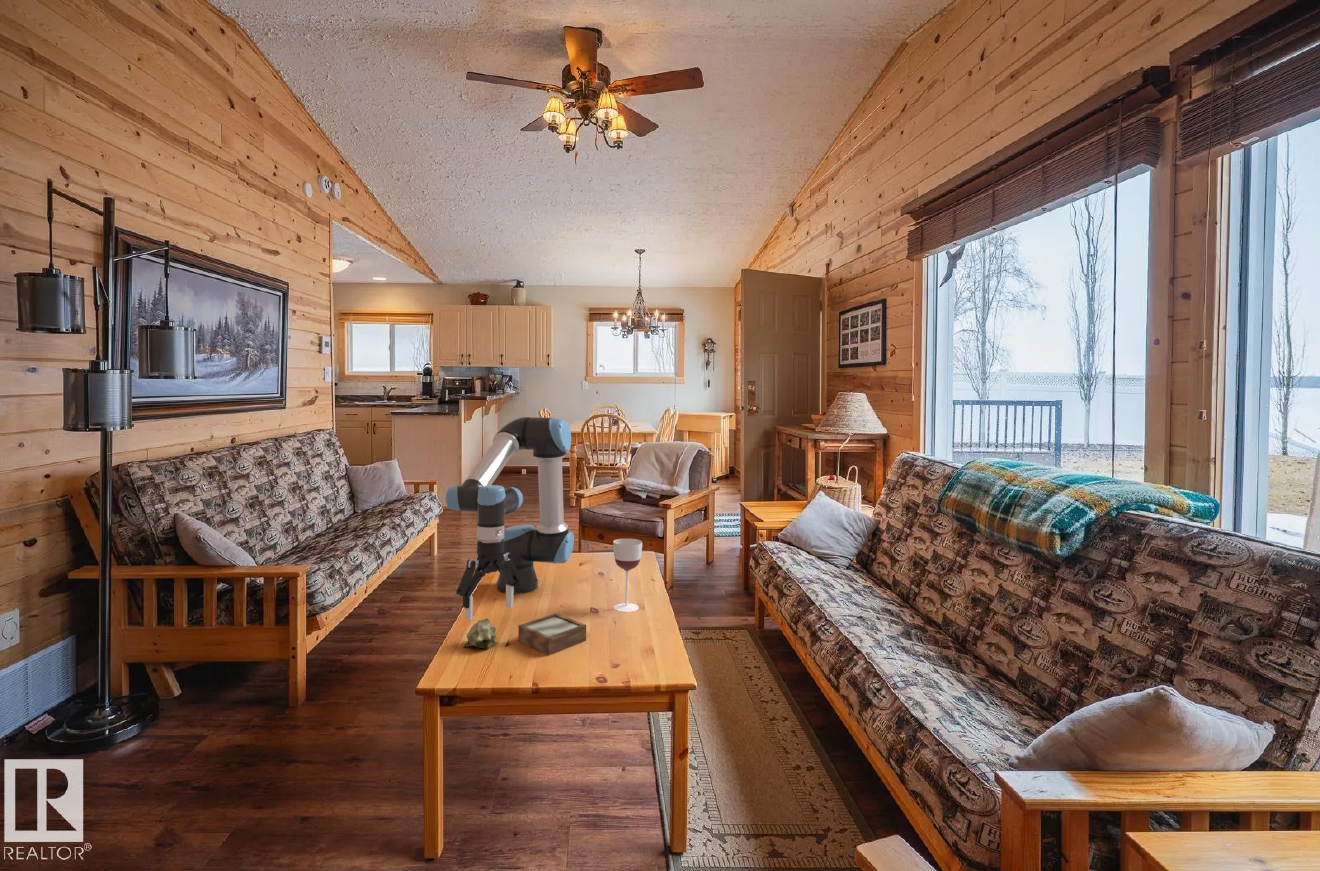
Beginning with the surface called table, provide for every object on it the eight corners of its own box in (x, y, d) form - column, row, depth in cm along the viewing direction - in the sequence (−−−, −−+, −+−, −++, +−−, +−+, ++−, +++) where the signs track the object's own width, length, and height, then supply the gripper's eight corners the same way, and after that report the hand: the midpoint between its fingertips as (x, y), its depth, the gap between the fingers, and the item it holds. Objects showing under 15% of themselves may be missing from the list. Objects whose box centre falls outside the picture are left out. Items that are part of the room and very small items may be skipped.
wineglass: (637, 613, 204) (638, 545, 203) (608, 610, 206) (610, 543, 205) (643, 604, 213) (645, 539, 211) (615, 601, 215) (617, 537, 213)
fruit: (476, 642, 181) (481, 615, 181) (502, 650, 177) (507, 622, 178) (456, 648, 172) (461, 619, 173) (483, 656, 169) (488, 627, 169)
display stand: (518, 641, 179) (518, 625, 178) (555, 628, 189) (555, 613, 189) (549, 655, 170) (549, 638, 169) (586, 640, 180) (586, 624, 180)
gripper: (458, 549, 162) (457, 627, 163) (534, 535, 181) (532, 605, 182) (443, 544, 167) (443, 620, 168) (518, 531, 186) (517, 599, 187)
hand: (489, 612), depth 175 cm, fingers open, 13 cm apart
